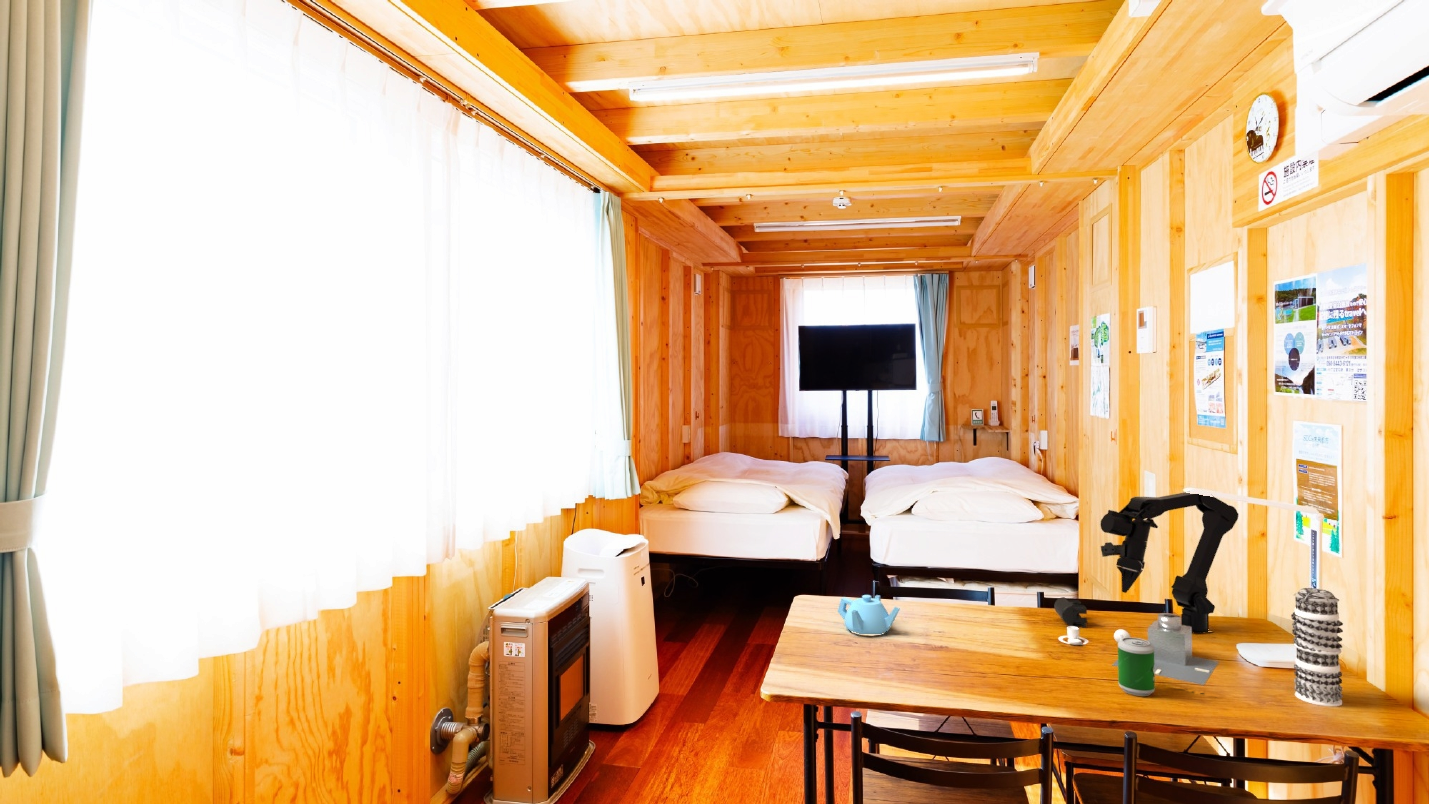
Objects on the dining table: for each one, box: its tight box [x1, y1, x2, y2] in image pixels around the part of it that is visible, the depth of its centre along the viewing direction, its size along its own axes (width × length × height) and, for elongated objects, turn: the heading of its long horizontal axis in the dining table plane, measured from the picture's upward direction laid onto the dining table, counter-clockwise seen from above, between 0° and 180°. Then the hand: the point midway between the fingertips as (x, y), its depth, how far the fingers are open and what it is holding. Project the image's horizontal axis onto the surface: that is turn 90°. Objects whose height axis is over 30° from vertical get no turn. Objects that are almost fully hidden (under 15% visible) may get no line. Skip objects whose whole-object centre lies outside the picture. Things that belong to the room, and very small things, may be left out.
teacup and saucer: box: [1058, 625, 1090, 646], centre depth 209 cm, size 9×8×4 cm
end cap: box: [1053, 596, 1088, 629], centre depth 225 cm, size 10×7×7 cm
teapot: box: [837, 594, 901, 634], centre depth 222 cm, size 15×15×11 cm
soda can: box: [1117, 636, 1156, 697], centre depth 173 cm, size 8×8×12 cm
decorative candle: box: [1290, 587, 1344, 708], centre depth 166 cm, size 9×9×25 cm
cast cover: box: [1147, 612, 1193, 666], centre depth 191 cm, size 8×8×11 cm
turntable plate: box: [1111, 628, 1219, 686], centre depth 187 cm, size 20×20×10 cm
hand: (1125, 591), depth 212 cm, fingers open, 9 cm apart
